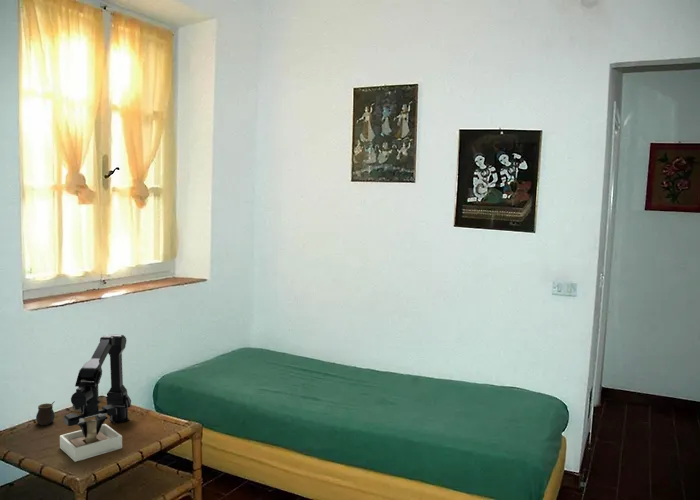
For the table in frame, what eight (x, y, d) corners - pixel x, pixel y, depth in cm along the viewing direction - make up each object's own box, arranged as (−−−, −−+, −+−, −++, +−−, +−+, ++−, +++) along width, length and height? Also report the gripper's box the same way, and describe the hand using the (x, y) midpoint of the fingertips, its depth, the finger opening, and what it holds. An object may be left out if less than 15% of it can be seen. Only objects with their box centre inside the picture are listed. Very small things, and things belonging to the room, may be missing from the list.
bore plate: (100, 436, 238) (100, 431, 238) (112, 446, 229) (112, 441, 229) (69, 444, 229) (69, 439, 229) (81, 455, 221) (81, 450, 221)
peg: (94, 437, 232) (94, 418, 231) (98, 441, 229) (98, 421, 228) (83, 440, 229) (83, 421, 228) (87, 443, 226) (87, 424, 226)
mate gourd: (38, 420, 255) (38, 398, 254) (57, 419, 256) (57, 397, 255) (33, 426, 248) (33, 404, 247) (53, 426, 249) (53, 403, 248)
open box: (105, 435, 241) (105, 423, 241) (122, 448, 230) (122, 436, 230) (59, 447, 229) (59, 435, 228) (74, 461, 217) (74, 449, 217)
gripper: (106, 387, 240) (106, 423, 241) (58, 397, 227) (58, 435, 228) (117, 394, 232) (117, 432, 233) (68, 405, 219) (69, 445, 220)
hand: (91, 435), depth 229 cm, fingers closed on peg, 4 cm apart
